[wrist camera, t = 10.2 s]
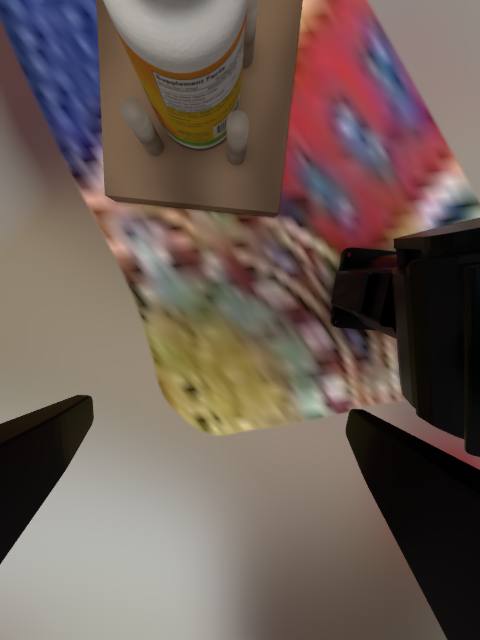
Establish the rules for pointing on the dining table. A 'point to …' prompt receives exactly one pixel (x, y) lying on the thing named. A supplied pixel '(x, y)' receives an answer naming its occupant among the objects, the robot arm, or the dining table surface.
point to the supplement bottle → (186, 61)
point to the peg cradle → (214, 162)
